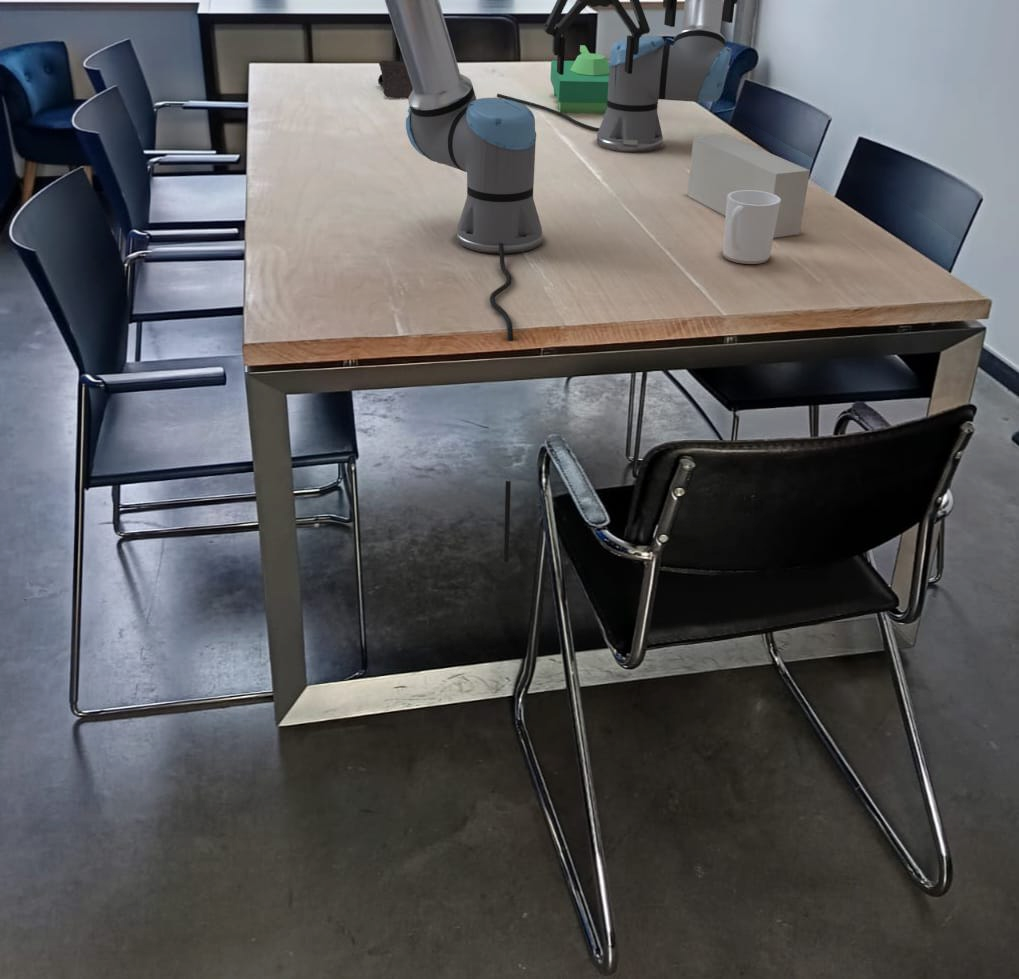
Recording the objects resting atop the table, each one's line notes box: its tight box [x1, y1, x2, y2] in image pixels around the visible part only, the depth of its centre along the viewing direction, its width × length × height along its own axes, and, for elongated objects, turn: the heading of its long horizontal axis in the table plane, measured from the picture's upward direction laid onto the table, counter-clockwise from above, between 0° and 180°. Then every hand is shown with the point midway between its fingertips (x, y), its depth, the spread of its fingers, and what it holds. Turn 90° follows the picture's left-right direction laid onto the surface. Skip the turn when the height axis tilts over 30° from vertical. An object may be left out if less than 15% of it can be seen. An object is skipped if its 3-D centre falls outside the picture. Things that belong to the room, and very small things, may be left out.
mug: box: [722, 190, 781, 265], centre depth 187 cm, size 11×9×10 cm
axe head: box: [377, 59, 413, 99], centre depth 299 cm, size 18×8×15 cm
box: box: [687, 133, 811, 239], centre depth 209 cm, size 28×7×12 cm, turn 23°
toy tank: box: [550, 44, 610, 115], centre depth 290 cm, size 18×12×35 cm
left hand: (594, 73), depth 212 cm, fingers open, 13 cm apart
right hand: (698, 23), depth 218 cm, fingers open, 13 cm apart
